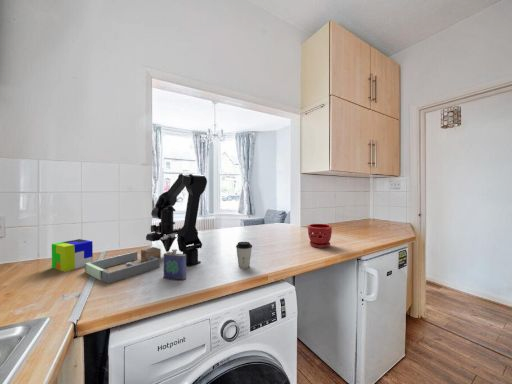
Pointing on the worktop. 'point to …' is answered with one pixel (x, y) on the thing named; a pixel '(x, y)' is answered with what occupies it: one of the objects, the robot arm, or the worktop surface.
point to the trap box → (129, 270)
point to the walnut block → (150, 253)
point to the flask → (174, 266)
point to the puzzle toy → (71, 254)
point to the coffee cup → (244, 254)
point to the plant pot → (319, 235)
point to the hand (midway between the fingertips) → (167, 251)
